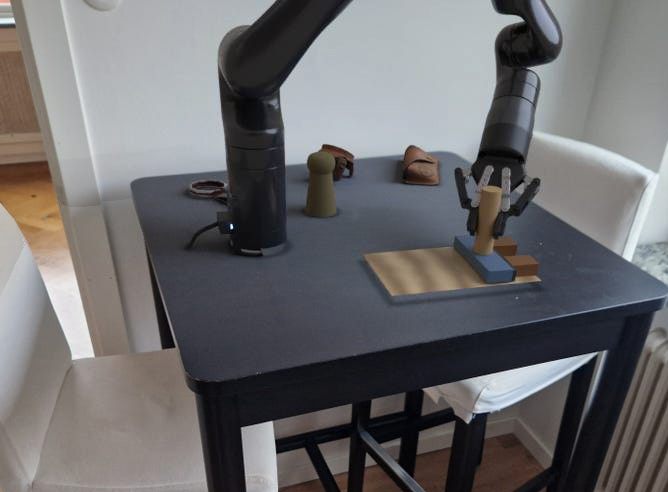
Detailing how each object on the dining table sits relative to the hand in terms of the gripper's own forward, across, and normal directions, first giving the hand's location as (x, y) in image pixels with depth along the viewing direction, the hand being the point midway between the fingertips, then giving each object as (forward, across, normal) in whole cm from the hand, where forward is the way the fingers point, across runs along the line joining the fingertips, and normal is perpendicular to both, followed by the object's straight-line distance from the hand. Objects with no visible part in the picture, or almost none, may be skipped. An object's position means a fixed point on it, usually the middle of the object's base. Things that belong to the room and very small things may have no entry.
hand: (484, 235), depth 102 cm
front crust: (+3, +6, +5) cm, 8 cm away
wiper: (+3, 0, +5) cm, 6 cm away
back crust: (-1, +2, +9) cm, 10 cm away
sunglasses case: (-30, -21, +40) cm, 55 cm away
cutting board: (+6, -4, +4) cm, 8 cm away
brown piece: (-21, -37, +31) cm, 53 cm away
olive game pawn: (-7, -33, +18) cm, 38 cm away
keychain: (-7, -52, +17) cm, 55 cm away
